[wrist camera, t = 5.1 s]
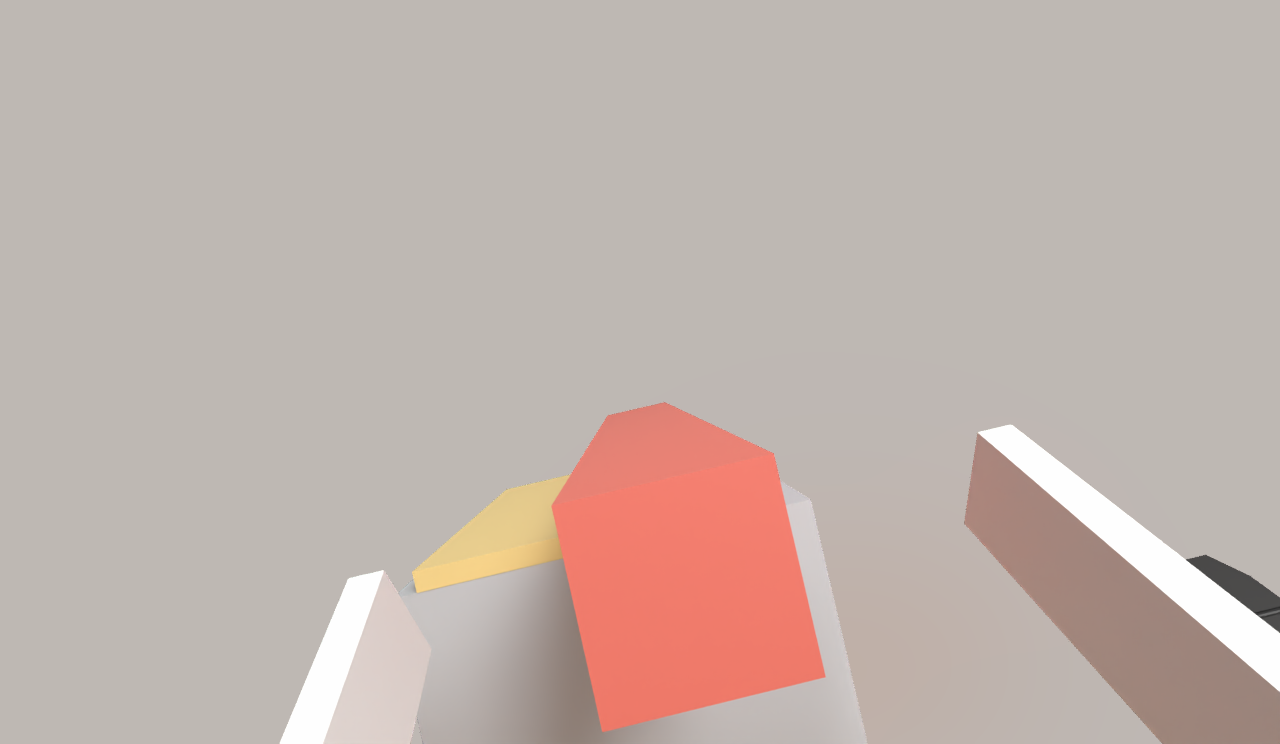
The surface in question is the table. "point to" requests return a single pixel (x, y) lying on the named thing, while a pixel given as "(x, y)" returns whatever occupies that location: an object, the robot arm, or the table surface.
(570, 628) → the breaker panel
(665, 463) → the bar
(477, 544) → the ochre pad
